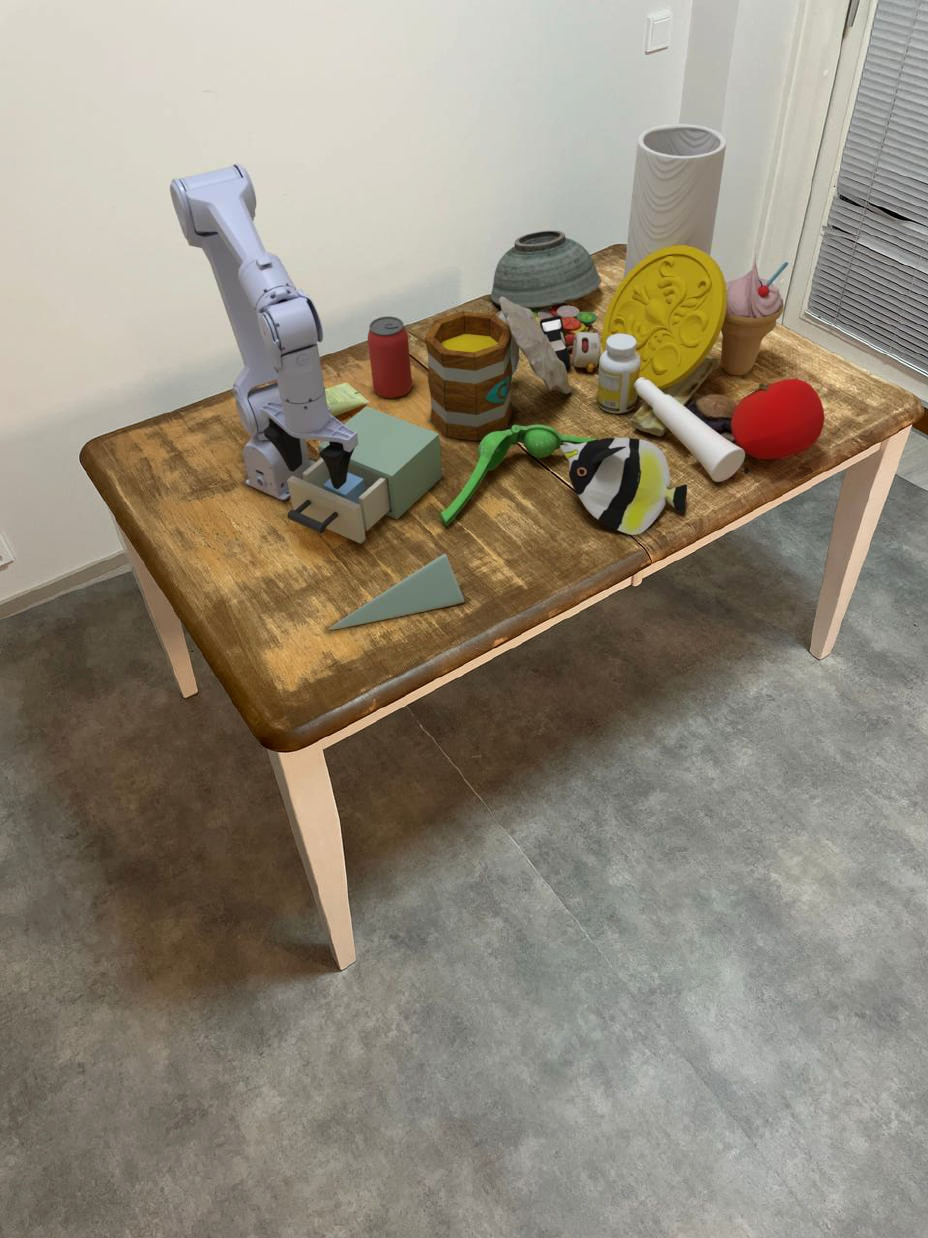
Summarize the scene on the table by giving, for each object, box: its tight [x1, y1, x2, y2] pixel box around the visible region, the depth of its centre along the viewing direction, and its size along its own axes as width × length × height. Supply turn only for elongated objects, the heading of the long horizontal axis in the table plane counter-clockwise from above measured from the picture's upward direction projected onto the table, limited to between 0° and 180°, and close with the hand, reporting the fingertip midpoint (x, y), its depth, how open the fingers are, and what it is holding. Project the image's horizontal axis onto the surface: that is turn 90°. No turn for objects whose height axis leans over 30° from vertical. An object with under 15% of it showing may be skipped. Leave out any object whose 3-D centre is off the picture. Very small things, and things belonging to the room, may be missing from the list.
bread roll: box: [685, 393, 738, 443], centre depth 154 cm, size 11×8×4 cm
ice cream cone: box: [720, 254, 789, 376], centre depth 158 cm, size 11×11×20 cm
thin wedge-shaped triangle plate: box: [328, 553, 465, 631], centre depth 128 cm, size 8×6×18 cm
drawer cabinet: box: [317, 406, 443, 521], centre depth 144 cm, size 12×14×8 cm
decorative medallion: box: [601, 245, 727, 390], centre depth 157 cm, size 24×24×2 cm
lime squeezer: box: [439, 424, 598, 527], centre depth 145 cm, size 34×12×6 cm, turn 115°
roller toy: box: [571, 332, 601, 373], centre depth 165 cm, size 4×6×6 cm
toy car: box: [540, 316, 571, 371], centre depth 167 cm, size 10×4×3 cm
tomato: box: [731, 378, 825, 460], centre depth 145 cm, size 12×14×11 cm
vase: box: [623, 123, 727, 279], centre depth 165 cm, size 14×14×32 cm
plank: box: [629, 357, 719, 437], centre depth 159 cm, size 23×6×3 cm, turn 148°
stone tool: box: [499, 297, 573, 395], centre depth 152 cm, size 12×4×25 cm
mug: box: [424, 310, 520, 442], centre depth 154 cm, size 20×14×15 cm
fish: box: [560, 437, 688, 536], centre depth 139 cm, size 12×20×15 cm
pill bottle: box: [596, 334, 641, 414], centre depth 155 cm, size 6×6×12 cm
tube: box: [325, 381, 371, 418], centre depth 158 cm, size 6×5×20 cm
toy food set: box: [530, 302, 598, 351], centre depth 173 cm, size 13×13×3 cm
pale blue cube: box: [323, 472, 365, 505], centre depth 140 cm, size 4×4×4 cm
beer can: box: [367, 315, 413, 399], centre depth 160 cm, size 7×7×12 cm
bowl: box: [490, 230, 602, 309], centre depth 180 cm, size 21×21×10 cm
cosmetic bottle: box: [634, 377, 746, 483], centre depth 148 cm, size 6×6×22 cm
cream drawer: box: [286, 458, 391, 544], centre depth 139 cm, size 15×12×6 cm
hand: (317, 476), depth 132 cm, fingers open, 7 cm apart
